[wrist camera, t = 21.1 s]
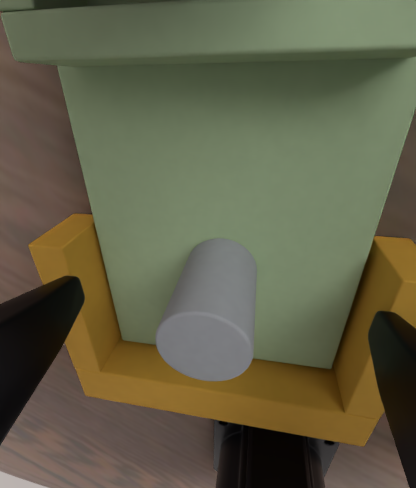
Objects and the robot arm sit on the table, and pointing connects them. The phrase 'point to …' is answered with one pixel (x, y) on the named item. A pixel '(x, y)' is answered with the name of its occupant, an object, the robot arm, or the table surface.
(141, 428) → the table surface
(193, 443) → the table surface
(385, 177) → the socket pad
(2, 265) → the table surface
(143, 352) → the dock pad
